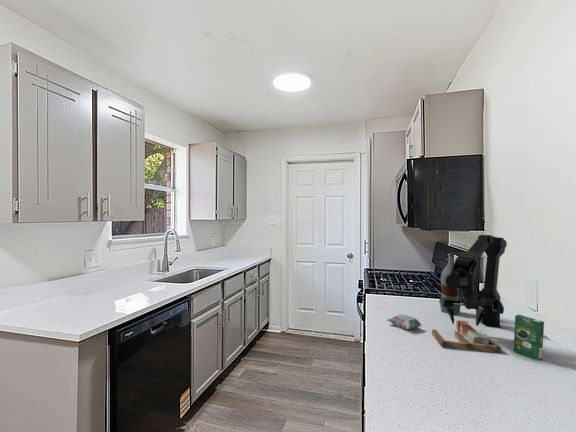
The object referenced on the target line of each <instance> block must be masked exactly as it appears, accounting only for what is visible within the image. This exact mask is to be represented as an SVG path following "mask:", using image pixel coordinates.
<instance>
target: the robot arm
mask: <svg viewBox="0 0 576 432" xmlns="http://www.w3.org/2000/svg"><path fill="white" fill-rule="evenodd" d="M507 244H508V243H507V241H506V240H505V239H504V237H498V236H493V235H491V234H479V235H478V237H477V239H476V241H475V242H474V243H473V244H472V245H471V247H469V249H468V250H467V251H465V252H462V253H461V254H459V255H458V256H457V257H456V258H455V259H454V265H453V267H452V269H451V275H448V276H447V278H446V284H447V286H448V287H449V288H451V289H457V290H458V297H457V300H458V301H455V300H452V299H451V298H445V297H441V296H440V298H439V305H440V304H441V305H442V306H443V307H445V308H446V309H447V311H448V313H449V314H448V316H449V319H450V321H451V324H453V325H454V324H455V315H454V308H453V306H454V305H460V306H461V307H462V306H463V307H464V308H465V309H466V310H475V325H476V327H479V325H480V323H481V324H483V325H484V326H485V327H494V328H502V325H501V324H500V322H501V315H504V312H505V307H504V305H503V303H502V301H501V295H500V293H499V292H498V289H497V288H498V279H499V278H498V277H499V267H500V259H501V256H502V255H503V254H505V250H506V248H507ZM484 253H485V255H486V263H485V264H486V265H485V274H484V283H483V288H482V289H481V290H478V295H477V296H476V291H475V276H477V273H476V271H477V268H479V265H480V262H479V259H480V258H481V257H482V255H483V254H484Z"/></svg>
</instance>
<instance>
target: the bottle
mask: <svg viewBox="0 0 576 432" xmlns="http://www.w3.org/2000/svg"><path fill="white" fill-rule="evenodd" d="M454 262H455V253H453V252H449V253H448V261H447V265H446V266H445V267H444V268H443V270H442V272H441V274H440V288H441V295H440V298H441V297H445V298H451V299H452V300H455V301H458V300H457V297H458V290H457V289H451V288H449V287H448V286H447V284H446V278H447V276H448V275H451V269H452V267H453V265H454ZM439 307H440V312H442V313H443V312H444V314H446V313H448V311H447V309H446V308H445V307H443V306H442V305H441V304H440V303H439ZM461 307H462V306H460V305H454V306H453V308H454V314H458V315H460V311H461ZM447 315H449V313H448V314H447Z"/></svg>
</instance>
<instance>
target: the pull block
mask: <svg viewBox="0 0 576 432" xmlns="http://www.w3.org/2000/svg"><path fill="white" fill-rule="evenodd" d="M455 331H457V332H460V333H461V334H462V335H463V336H464V337H465V338H466V339H467V340H468V341H469V342H470V343H478V344H489V338H490V337H489V336H488V335H487V334H485V333H483V332H481V331H477V330H476V329H475V328H474V327H472V325H471V324H469V322H468V321H467V320H458V319H456V320H455ZM484 334H485V335H484ZM486 335H487V336H488V337H489V338H488V337H487V336H486Z"/></svg>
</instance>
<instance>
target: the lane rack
mask: <svg viewBox="0 0 576 432" xmlns="http://www.w3.org/2000/svg"><path fill="white" fill-rule="evenodd" d="M483 334H484V335H486V336H487V337H488V338H489V344H478V343H470V342H469V341H468V340H467V338H466V337H465V336H464V335H463V334H462V333H461V332H460V331H457V330H455V331H454V337H455V338H456V340H457V341H454V340H445V339H444V337H443V336H442V335H441V334H440V333H439V331H438V330H437V329H431V335H432V336H433V338H434V339H435V340H436V342H437V343H438V344H439V346H440V347H441V348H446V347H447V348H449V349H456V348H459V349H458V350H466V349H467V350H466V351H477V350H478V351H479V352H489V353H499V354H501V353H502V346H501V345H499V344H498V343H497V342H496V341H495V340H493V339H491V337H489V336H488V335H487V334H485V333H483ZM458 340H459V341H460V342H459V341H458Z"/></svg>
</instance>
